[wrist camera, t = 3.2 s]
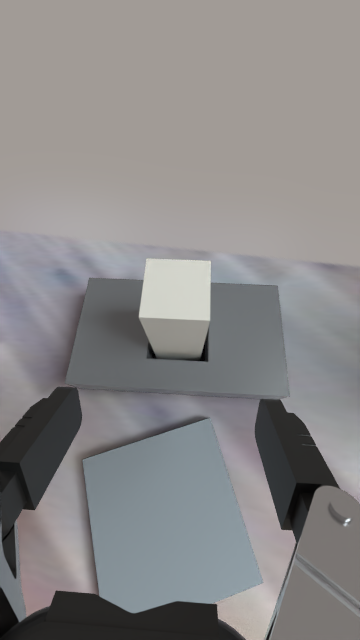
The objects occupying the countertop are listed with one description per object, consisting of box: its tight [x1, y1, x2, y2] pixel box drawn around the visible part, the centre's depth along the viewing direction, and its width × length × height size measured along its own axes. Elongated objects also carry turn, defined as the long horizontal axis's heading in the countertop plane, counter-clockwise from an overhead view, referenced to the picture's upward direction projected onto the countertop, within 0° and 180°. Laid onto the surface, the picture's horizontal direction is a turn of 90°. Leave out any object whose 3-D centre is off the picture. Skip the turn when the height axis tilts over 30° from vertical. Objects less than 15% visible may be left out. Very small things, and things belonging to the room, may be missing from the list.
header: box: [65, 278, 290, 399], centre depth 23 cm, size 18×10×4 cm, turn 87°
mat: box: [83, 418, 263, 613], centre depth 19 cm, size 11×11×1 cm
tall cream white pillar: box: [139, 258, 211, 361], centre depth 19 cm, size 4×4×11 cm
